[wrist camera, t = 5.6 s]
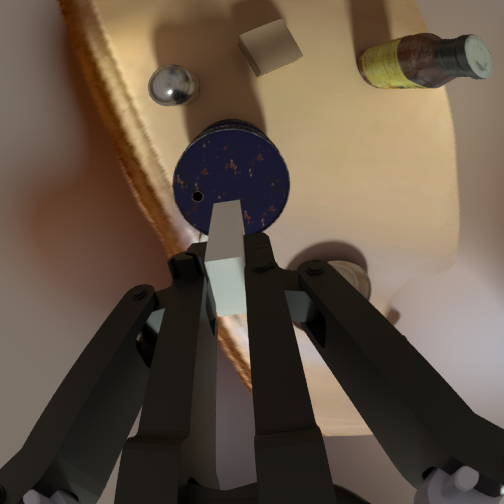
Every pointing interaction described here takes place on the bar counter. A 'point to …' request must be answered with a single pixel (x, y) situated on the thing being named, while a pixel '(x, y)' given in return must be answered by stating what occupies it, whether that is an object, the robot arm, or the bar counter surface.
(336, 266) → the saucer
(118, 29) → the bar counter surface
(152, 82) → the metal shaker
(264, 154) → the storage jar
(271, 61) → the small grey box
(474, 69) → the sauce bottle
